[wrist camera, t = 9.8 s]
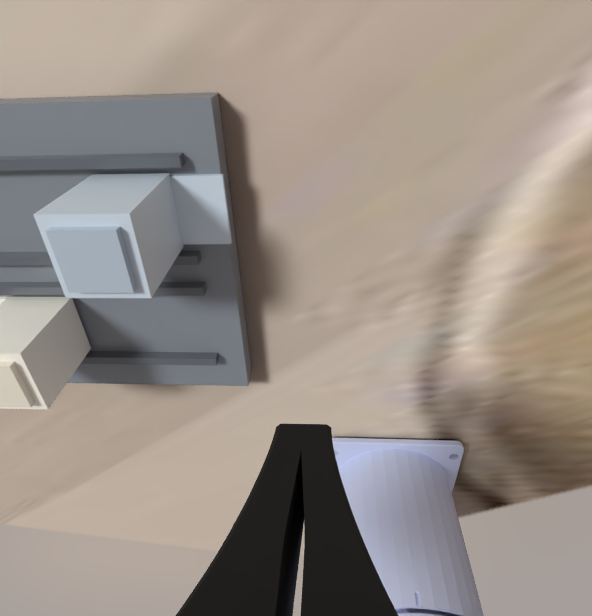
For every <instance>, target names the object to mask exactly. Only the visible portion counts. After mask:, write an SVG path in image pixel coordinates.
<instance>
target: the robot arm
mask: <svg viewBox="0 0 592 616" xmlns="http://www.w3.org/2000/svg"><path fill="white" fill-rule="evenodd" d="M463 453H464V447H463V444H462V443H461V442H459V441H452V440H412V439H371V438H332V434H331V427H329V426H328V425H321V424H280V425H278V426H277V427H276V431H275V434H274V438H273V441H272V444H271V446H270V449H269V452H268V454H267V457H266V459H265V462H264V464H263V467H262V469H261V471H260V474H259V476H258V478H257V480H256V482H255V484H254V486H253V488H252V491H251V493H250V495H249V497H248V499H247V501H246V503H245V505H244V507H243V509H242V510H241V512H240V514H239V516H238V518H237V520H236V522H235V523H234V525H233V527H232V529H231V531H230V533H229V534H228V536H227V538H226V540H225V541H224V543H223V545H222V546H221V548H220V550H219V551H218V553H217V555H216V557H215V558H214V560H213V561H212V563H211V564H210V566H209V567H208V569H207V571H206V573H205V574H204V575H203V577H202V578H201V580H200V581H199V583H198V584H197V586H196V587H195V589H194V590H193V592H192V593H191V595H190V596H189V598H188V599H187V600H186V602H185V603H184V605H183V606H182V608H181V609H180V610H179V612H178V613H177V615H176V616H292V615H293V614H292V613H293V603H294V595H295V588H296V579H297V572H298V564H299V556H300V548H301V539H302V531H303V523H305V551H304V569H303V587H302V604H301V616H484V615H483V612H482V608H481V604H480V600H479V596H478V593H477V589H476V585H475V581H474V577H473V574H472V570H471V566H470V562H469V558H468V554H467V550H466V547H465V543H464V539H463V535H462V531H461V527H460V524H459V520H458V516H457V512H456V508H455V505H454V501H453V497H452V492H453V488H454V485H455V481H456V478H457V474H458V470H459V467H460V463H461V460H462V456H463Z"/></svg>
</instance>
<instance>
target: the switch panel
mask: <svg viewBox="0 0 592 616" xmlns="http://www.w3.org/2000/svg"><path fill="white" fill-rule="evenodd" d="M156 173H170V180H171V185H172V191H173V196H174V201H175V206H176V211H177V216H178V221H179V226H180V231H181V237H182V242H183V245H184V247H183V248H182V250H181V251H180V253H179V255H178V256H177V258H176V259H175V261H174V263H173V264H172V266H171V268H170V269H169V271H168V272H167V274H166V276H165V277H164V279H163V280H162V282H161V284H160V285H159V287H158V288H157V290H156V292H155V293H154V295H153V297H152V298H72V299H73V302H74V304H75V307H76V310H77V312H78V315H79V317H80V320H81V323H82V325H83V328H84V331H85V333H86V336H87V338H88V341H89V344H90V346H91V349H90V351H89V352H88V354H87V355H86V356H85V358H84V359H83V361H82V362H81V364H80V365H79V366H78V368H77V369H76V371H75V372H74V373H73V375H72V376H71V378H70V379H69V380H68V382H67V383H108V384H167V385H226V386H248V385H249V380H250V375H251V371H252V369H251V361H250V353H249V345H248V336H247V328H246V320H245V311H244V303H243V295H242V287H241V278H240V270H239V262H238V253H237V245H236V237H235V228H234V220H233V212H232V204H231V195H230V187H229V179H228V170H227V162H226V154H225V146H224V137H223V129H222V121H221V112H220V104H219V96H218V93H191V94H157V95H123V96H88V97H54V98H20V99H0V304H1V303H2V302H3V301H4V300H5V299H7V298H8V297H65V295H64V292H63V290H62V287H61V285H60V282H59V279H58V277H57V274H56V272H55V269H54V267H53V264H52V262H51V259H50V256H49V254H48V251H47V249H46V246H45V244H44V241H43V238H42V236H41V233H40V231H39V228H38V226H37V223H36V220H35V218H34V215H33V214H35V213H36V212H38V211H39V210H41V209H42V208H44V207H45V206H47V205H48V204H49V203H51V202H52V201H54V200H55V199H57V198H58V197H60V196H61V195H63V194H64V193H66V192H67V191H69V190H70V189H72V188H73V187H75V186H76V185H78V184H79V183H80V182H82V181H83V180H85V179H86V178H88V177H89V176H91V175H96V174H156Z"/></svg>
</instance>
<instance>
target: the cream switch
mask: <svg viewBox="0 0 592 616" xmlns="http://www.w3.org/2000/svg"><path fill="white" fill-rule="evenodd" d="M90 349H91V346H90V344H89V341H88V338H87V336H86V333H85V331H84V328H83V325H82V323H81V320H80V317H79V315H78V312H77V310H76V307H75V304H74V302H73V299H72V298H66V297H8V298H7V299H5V300H4V301H3V302H2V303H1V304H0V408H10V409H49V407H50V406H51V404H52V403H53V402H54V400H55V399H56V397H57V396H58V395H59V393H60V392H61V390H62V389H63V388H64V386H65V385H66V383H67V382H68V380H69V379H70V378H71V376H72V375H73V373H74V372H75V371H76V369H77V368H78V366H79V365H80V364H81V362H82V361H83V359H84V358H85V356H86V355H87V354H88V352H89V351H90Z"/></svg>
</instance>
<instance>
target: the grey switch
mask: <svg viewBox="0 0 592 616" xmlns="http://www.w3.org/2000/svg"><path fill="white" fill-rule="evenodd" d="M33 215H34V218H35V220H36V223H37V226H38V228H39V231H40V233H41V236H42V238H43V241H44V244H45V246H46V249H47V251H48V254H49V256H50V259H51V262H52V264H53V267H54V269H55V272H56V274H57V277H58V279H59V282H60V285H61V287H62V290H63V292H64V295H65V297H66V298H152V297H153V295H154V293H155V292H156V290H157V288H158V287H159V285H160V284H161V282H162V280H163V279H164V277H165V276H166V274H167V272H168V271H169V269H170V268H171V266H172V264H173V263H174V261H175V259H176V258H177V256H178V255H179V253H180V251H181V250H182V248H183V247H184V245H183V242H182V237H181V231H180V226H179V221H178V216H177V211H176V206H175V201H174V196H173V191H172V185H171V180H170V173H156V174H96V175H91V176H89V177H88V178H86V179H85V180H83V181H82V182H80V183H79V184H78V185H76V186H75V187H73V188H72V189H70V190H69V191H67V192H66V193H64V194H63V195H61V196H60V197H58V198H57V199H55V200H54V201H52V202H51V203H49V204H48V205H47V206H45V207H44V208H42V209H41V210H39V211H38V212H36V213H35V214H33Z"/></svg>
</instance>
